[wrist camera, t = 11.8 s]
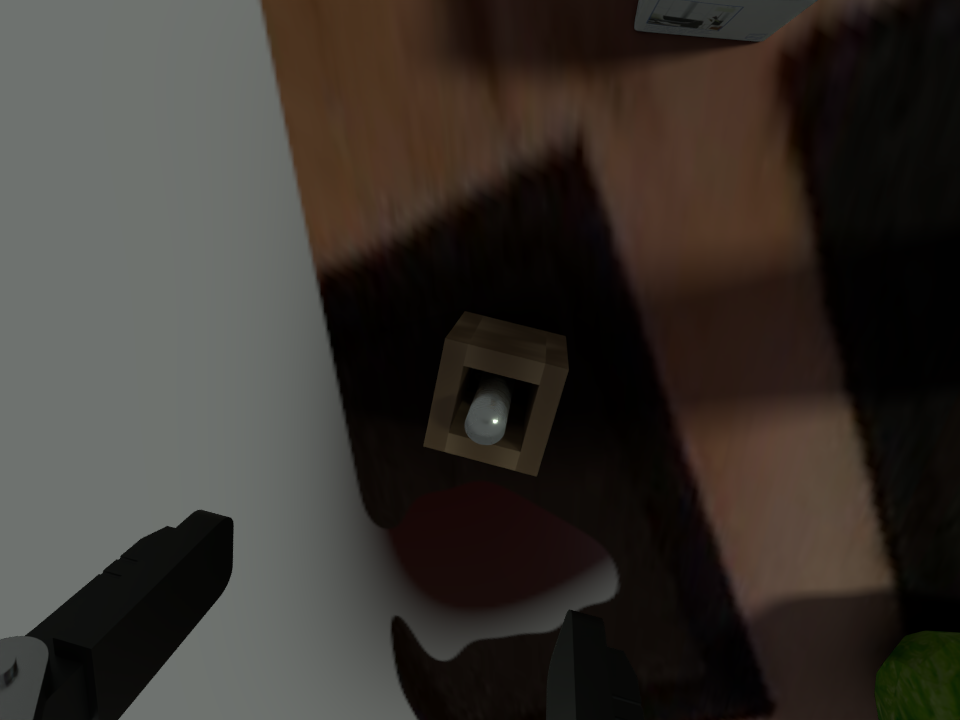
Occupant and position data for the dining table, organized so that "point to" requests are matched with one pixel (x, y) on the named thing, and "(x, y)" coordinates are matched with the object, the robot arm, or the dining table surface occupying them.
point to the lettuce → (921, 678)
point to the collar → (506, 355)
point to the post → (492, 404)
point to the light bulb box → (718, 17)
